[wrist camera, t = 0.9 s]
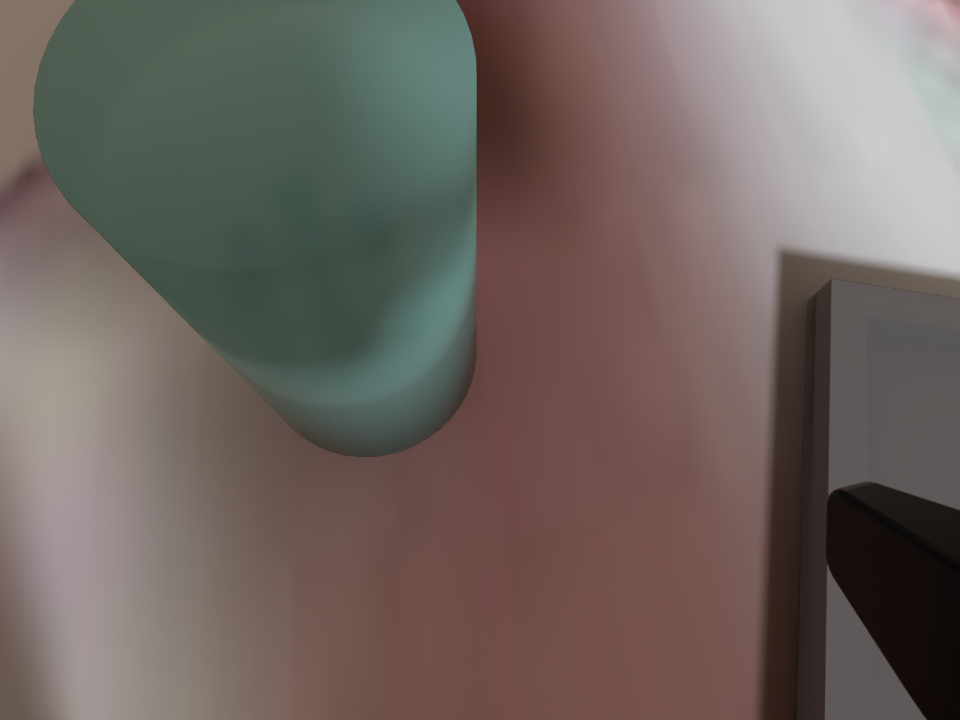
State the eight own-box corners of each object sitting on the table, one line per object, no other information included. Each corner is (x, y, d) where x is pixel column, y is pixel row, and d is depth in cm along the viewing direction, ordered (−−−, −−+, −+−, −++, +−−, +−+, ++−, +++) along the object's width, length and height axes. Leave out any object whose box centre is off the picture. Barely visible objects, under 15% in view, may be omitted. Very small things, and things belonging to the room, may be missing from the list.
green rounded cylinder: (455, 474, 21) (430, 306, 9) (238, 436, 21) (-40, 230, 10) (492, 274, 23) (509, -61, 11) (294, 243, 23) (120, -113, 12)
